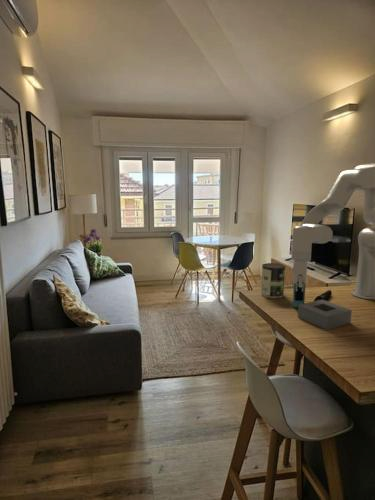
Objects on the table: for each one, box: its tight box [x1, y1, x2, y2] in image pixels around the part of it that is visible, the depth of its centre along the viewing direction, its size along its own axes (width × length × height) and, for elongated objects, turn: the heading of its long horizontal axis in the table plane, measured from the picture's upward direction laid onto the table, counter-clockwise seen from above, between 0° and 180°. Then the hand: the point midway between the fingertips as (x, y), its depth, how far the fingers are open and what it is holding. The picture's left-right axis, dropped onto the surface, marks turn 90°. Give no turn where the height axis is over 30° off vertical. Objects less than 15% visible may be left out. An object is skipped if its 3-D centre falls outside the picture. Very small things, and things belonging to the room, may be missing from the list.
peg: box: [292, 282, 306, 309], centre depth 134 cm, size 4×4×10 cm
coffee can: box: [260, 262, 286, 299], centre depth 149 cm, size 10×10×14 cm
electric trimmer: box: [313, 289, 333, 302], centre depth 144 cm, size 4×16×3 cm, turn 138°
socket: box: [297, 300, 353, 331], centre depth 120 cm, size 13×13×5 cm
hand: (298, 298), depth 134 cm, fingers closed on peg, 4 cm apart
